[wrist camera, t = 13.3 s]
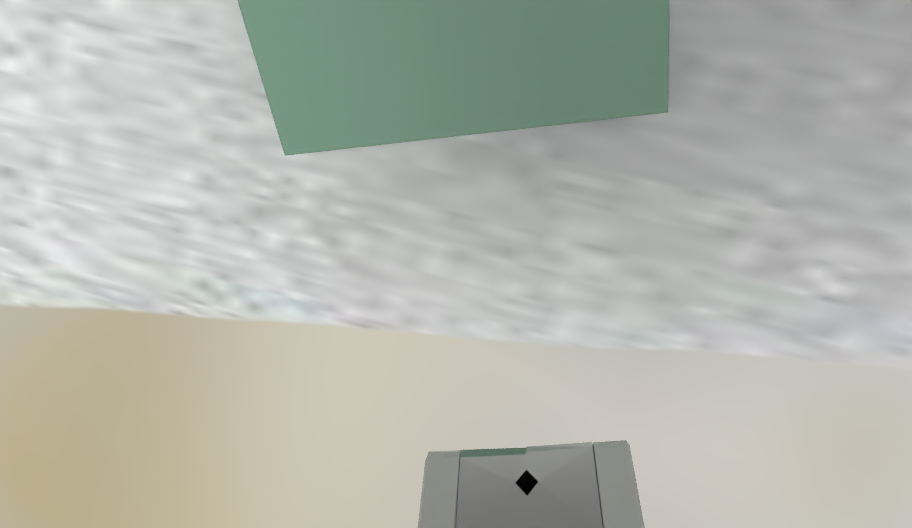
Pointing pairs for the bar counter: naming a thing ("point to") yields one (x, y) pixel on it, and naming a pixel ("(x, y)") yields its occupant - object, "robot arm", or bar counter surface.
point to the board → (453, 66)
